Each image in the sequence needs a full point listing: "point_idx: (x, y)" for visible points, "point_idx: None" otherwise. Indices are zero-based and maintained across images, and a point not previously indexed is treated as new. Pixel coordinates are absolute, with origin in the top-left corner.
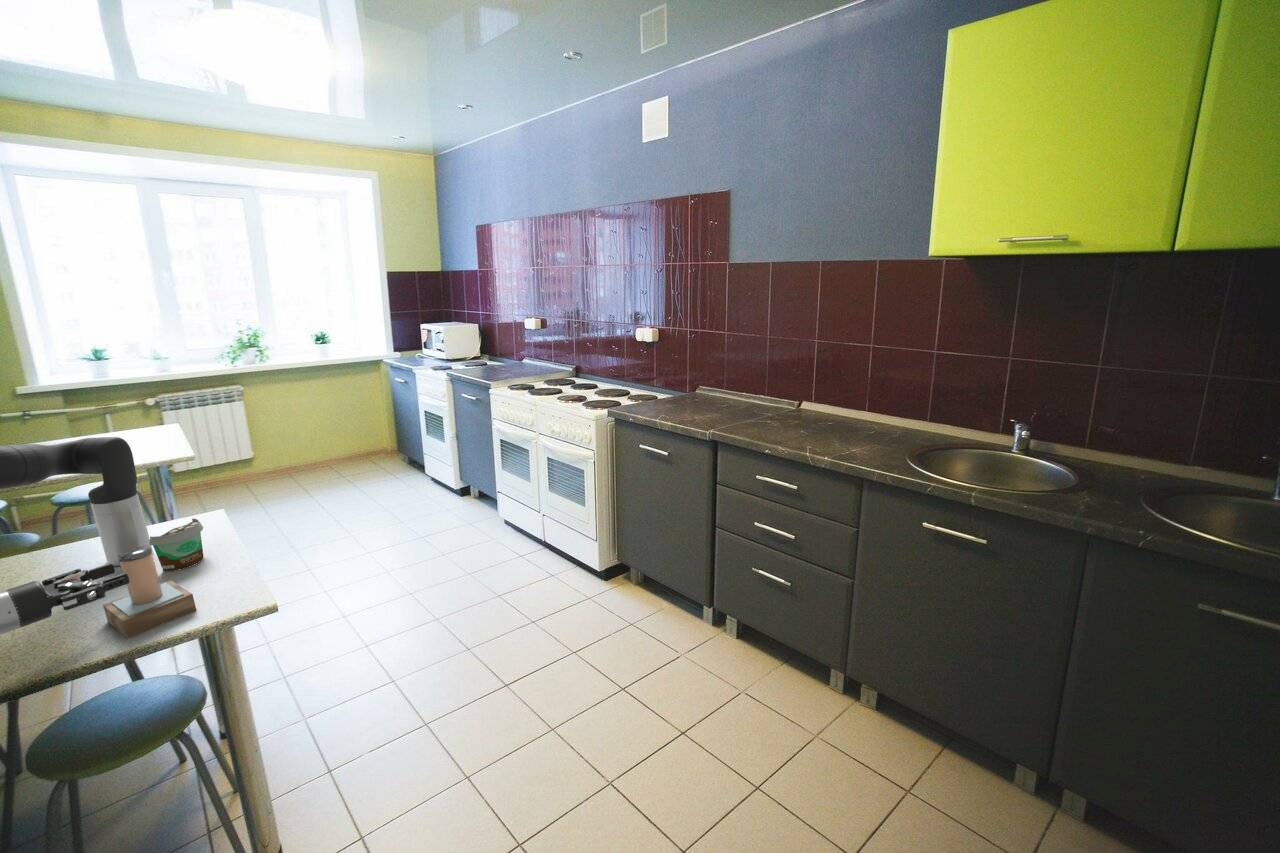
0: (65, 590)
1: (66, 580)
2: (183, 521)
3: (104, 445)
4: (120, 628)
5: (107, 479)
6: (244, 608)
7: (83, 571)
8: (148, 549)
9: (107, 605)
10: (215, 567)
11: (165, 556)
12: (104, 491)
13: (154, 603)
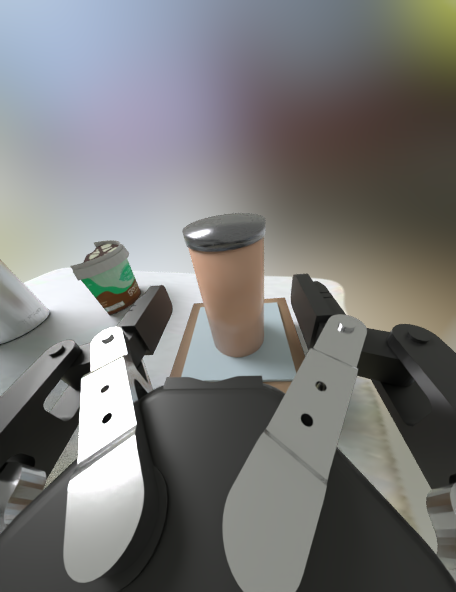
0: (337, 526)
1: (138, 430)
2: (31, 281)
3: None
4: None
5: None
6: (331, 292)
7: (110, 338)
8: (241, 214)
9: None
10: (174, 286)
11: (108, 292)
12: None
13: (277, 333)
